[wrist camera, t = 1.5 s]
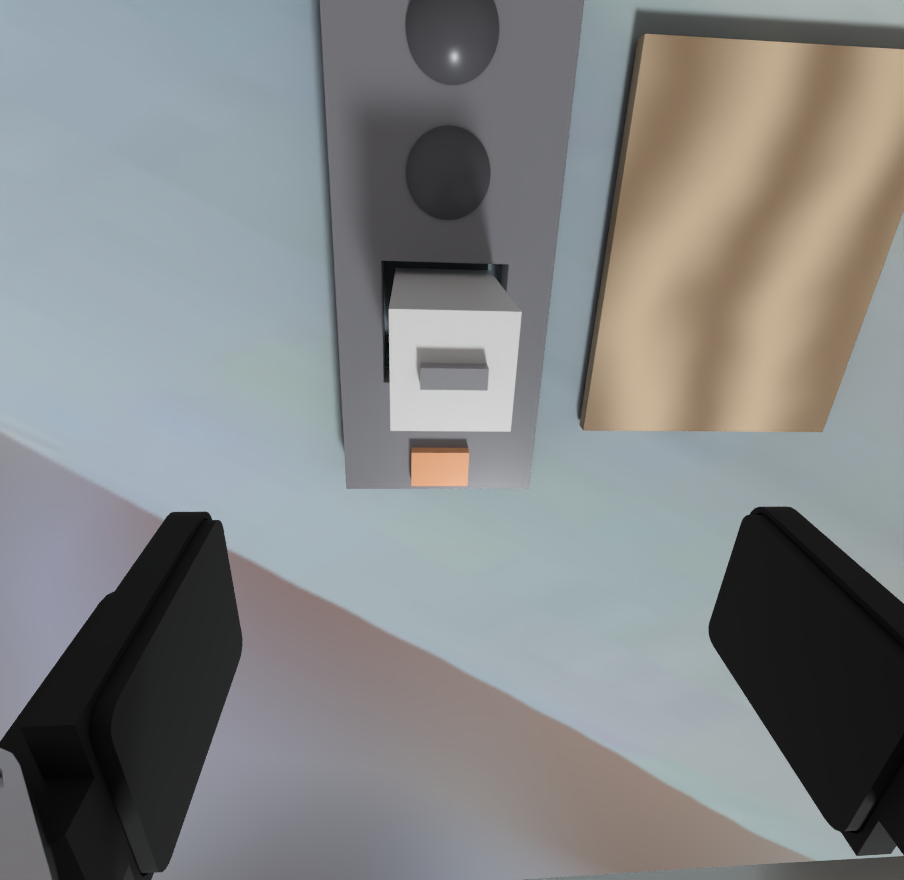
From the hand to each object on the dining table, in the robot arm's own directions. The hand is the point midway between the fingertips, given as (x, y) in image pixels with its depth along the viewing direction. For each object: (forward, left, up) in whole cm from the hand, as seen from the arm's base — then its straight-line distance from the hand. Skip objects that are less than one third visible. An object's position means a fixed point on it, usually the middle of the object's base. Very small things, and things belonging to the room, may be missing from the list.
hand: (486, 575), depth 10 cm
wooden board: (-15, -3, -20) cm, 25 cm away
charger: (0, 0, -20) cm, 20 cm away
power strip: (0, -3, -20) cm, 20 cm away
